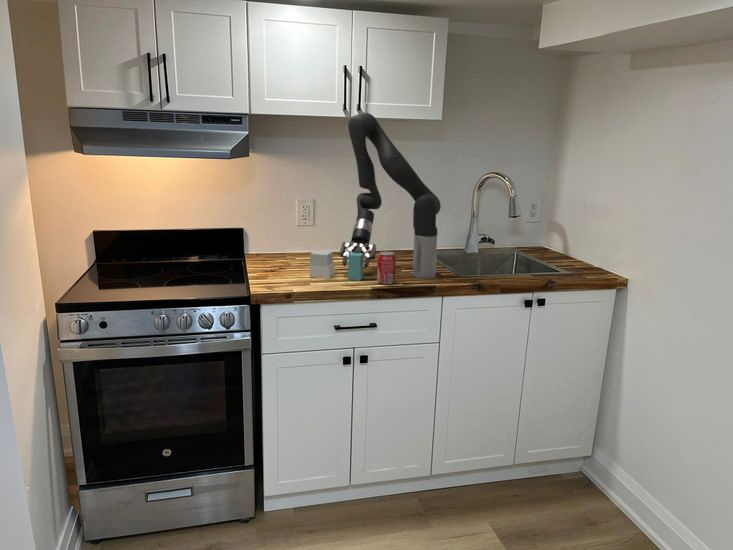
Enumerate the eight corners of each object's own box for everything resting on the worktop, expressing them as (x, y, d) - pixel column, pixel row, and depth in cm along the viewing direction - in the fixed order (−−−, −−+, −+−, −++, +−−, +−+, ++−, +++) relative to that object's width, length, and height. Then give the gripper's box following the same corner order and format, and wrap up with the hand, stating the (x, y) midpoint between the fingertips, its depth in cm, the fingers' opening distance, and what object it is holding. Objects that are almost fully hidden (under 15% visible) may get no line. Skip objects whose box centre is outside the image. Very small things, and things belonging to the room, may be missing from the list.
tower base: (334, 274, 226) (334, 263, 224) (328, 279, 218) (328, 267, 217) (316, 273, 227) (316, 261, 226) (309, 278, 220) (309, 266, 218)
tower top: (332, 263, 224) (332, 251, 222) (327, 267, 217) (327, 255, 216) (316, 261, 225) (316, 250, 224) (310, 265, 219) (310, 253, 218)
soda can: (384, 279, 219) (385, 250, 216) (398, 282, 215) (399, 253, 212) (373, 283, 214) (373, 253, 211) (387, 286, 209) (388, 255, 206)
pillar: (363, 277, 222) (363, 253, 219) (360, 280, 217) (360, 256, 214) (351, 276, 223) (351, 252, 220) (348, 279, 218) (348, 255, 215)
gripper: (343, 226, 223) (335, 259, 216) (377, 228, 220) (371, 262, 213) (347, 236, 230) (339, 269, 222) (380, 239, 227) (373, 272, 219)
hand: (354, 266), depth 217 cm, fingers open, 8 cm apart
